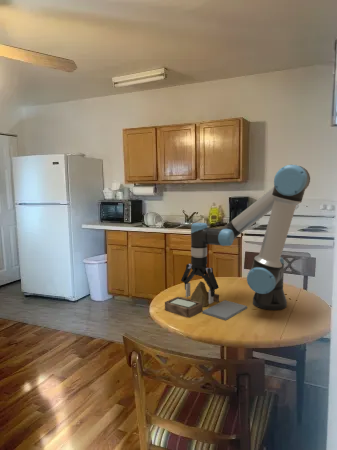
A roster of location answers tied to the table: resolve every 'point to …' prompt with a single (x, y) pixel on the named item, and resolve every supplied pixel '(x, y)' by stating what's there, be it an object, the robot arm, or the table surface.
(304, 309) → the table surface
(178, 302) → the pale grey-green block
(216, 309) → the board
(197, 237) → the robot arm
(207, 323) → the table surface
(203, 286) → the rock
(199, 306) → the brown frame and bar
